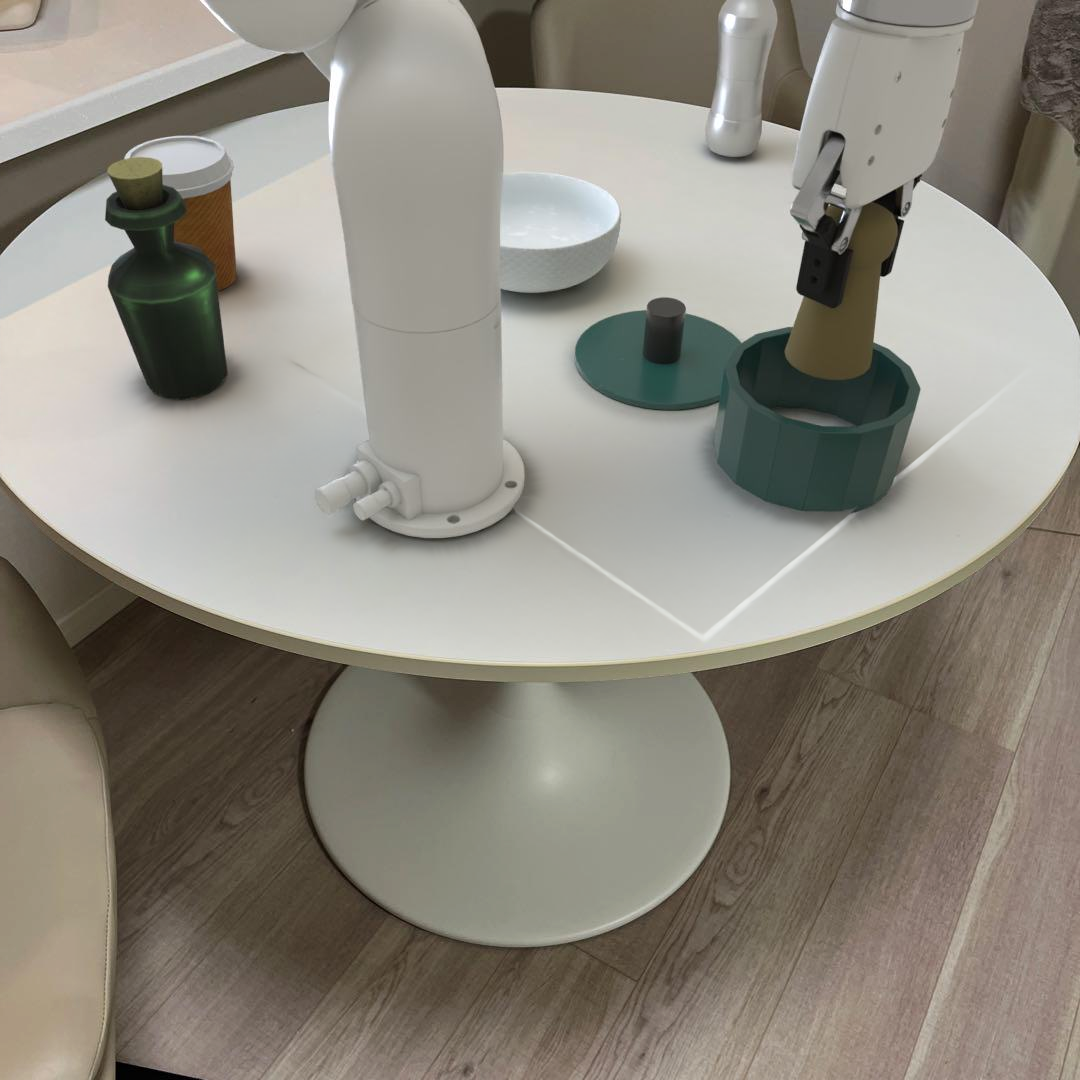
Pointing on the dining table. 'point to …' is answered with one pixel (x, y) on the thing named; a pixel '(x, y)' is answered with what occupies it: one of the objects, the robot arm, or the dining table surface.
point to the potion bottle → (164, 286)
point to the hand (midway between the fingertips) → (843, 281)
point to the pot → (812, 427)
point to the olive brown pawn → (846, 305)
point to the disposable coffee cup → (199, 196)
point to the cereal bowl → (554, 231)
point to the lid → (656, 357)
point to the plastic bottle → (740, 76)
